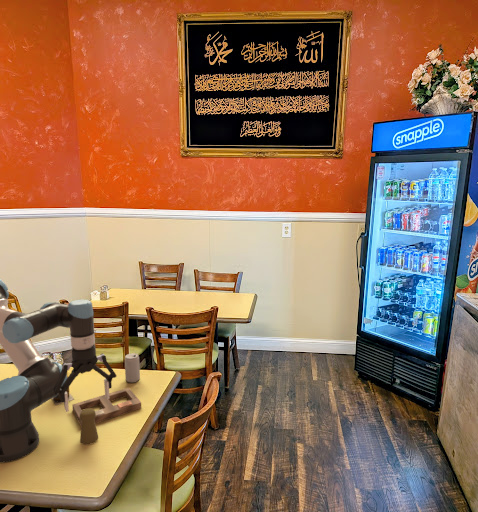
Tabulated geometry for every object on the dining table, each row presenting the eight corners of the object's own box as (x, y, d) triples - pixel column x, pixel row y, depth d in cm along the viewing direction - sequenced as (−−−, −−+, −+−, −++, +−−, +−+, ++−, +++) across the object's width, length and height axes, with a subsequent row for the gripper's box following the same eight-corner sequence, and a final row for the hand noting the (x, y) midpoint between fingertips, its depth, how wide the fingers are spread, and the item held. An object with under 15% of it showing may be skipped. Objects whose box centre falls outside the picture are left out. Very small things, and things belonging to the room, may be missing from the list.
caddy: (81, 428, 143) (81, 420, 142) (72, 410, 154) (72, 403, 153) (141, 407, 156) (141, 401, 155) (128, 392, 167) (128, 386, 167)
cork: (92, 445, 133) (90, 416, 131) (76, 443, 134) (74, 414, 132) (101, 434, 139) (100, 407, 137) (86, 432, 140) (84, 405, 138)
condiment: (68, 391, 168) (66, 365, 166) (74, 399, 162) (72, 372, 159) (50, 396, 163) (47, 370, 161) (55, 405, 157) (53, 378, 155)
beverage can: (137, 383, 175) (136, 358, 173) (123, 383, 175) (122, 358, 173) (141, 376, 181) (140, 352, 179) (128, 376, 181) (127, 352, 179)
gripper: (44, 359, 120) (50, 421, 124) (123, 340, 134) (126, 396, 138) (40, 350, 126) (46, 410, 130) (116, 334, 140) (119, 388, 144)
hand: (87, 403), depth 134 cm, fingers open, 13 cm apart
